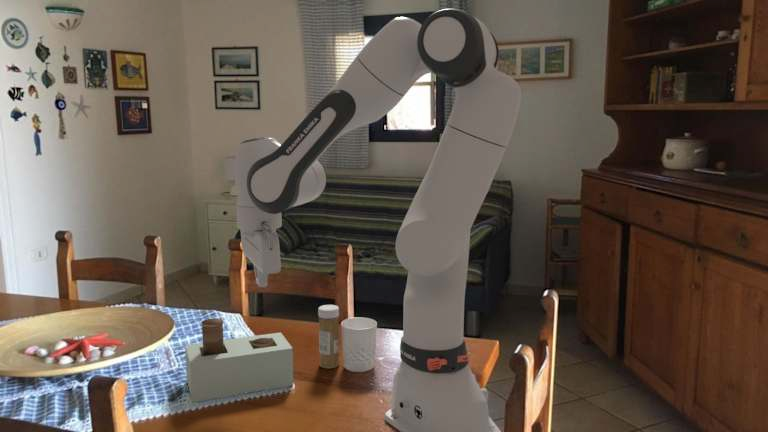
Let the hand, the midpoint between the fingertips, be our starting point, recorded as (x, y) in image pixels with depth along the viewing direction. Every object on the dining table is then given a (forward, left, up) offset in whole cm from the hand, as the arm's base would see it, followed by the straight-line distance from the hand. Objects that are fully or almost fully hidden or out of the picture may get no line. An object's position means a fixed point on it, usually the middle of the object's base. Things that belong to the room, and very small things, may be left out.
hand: (261, 285), depth 124 cm
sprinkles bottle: (+2, -15, -21) cm, 26 cm away
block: (0, +5, -20) cm, 21 cm away
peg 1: (0, +10, -14) cm, 18 cm away
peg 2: (0, 0, -20) cm, 20 cm away
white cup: (-1, -21, -21) cm, 29 cm away
